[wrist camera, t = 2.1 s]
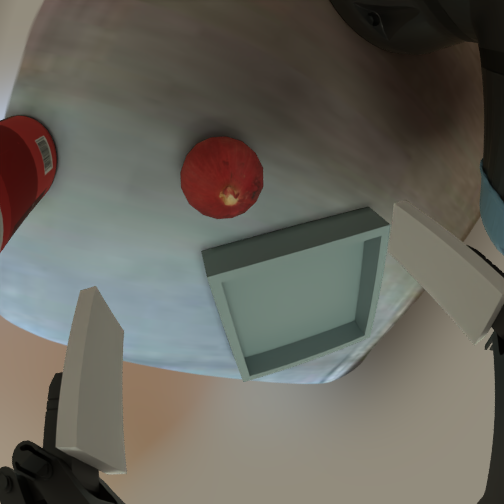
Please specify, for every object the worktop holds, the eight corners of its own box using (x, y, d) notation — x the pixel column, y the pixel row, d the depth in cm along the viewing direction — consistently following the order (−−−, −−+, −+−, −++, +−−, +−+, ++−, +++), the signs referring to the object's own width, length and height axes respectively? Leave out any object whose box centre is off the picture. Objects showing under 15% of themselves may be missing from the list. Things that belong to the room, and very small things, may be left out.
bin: (368, 206, 30) (390, 224, 27) (356, 317, 40) (369, 337, 37) (201, 251, 28) (207, 277, 25) (236, 358, 38) (243, 382, 35)
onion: (260, 142, 23) (297, 172, 17) (233, 202, 26) (258, 252, 19) (193, 119, 21) (204, 139, 15) (170, 185, 23) (171, 232, 17)
